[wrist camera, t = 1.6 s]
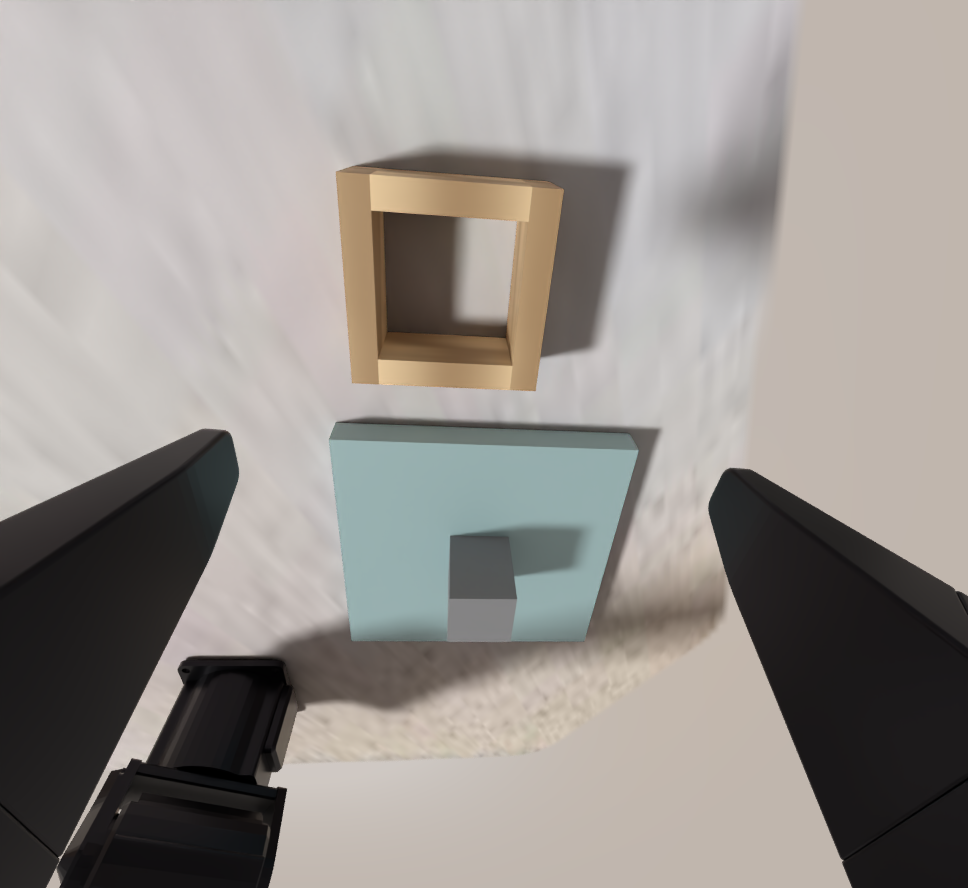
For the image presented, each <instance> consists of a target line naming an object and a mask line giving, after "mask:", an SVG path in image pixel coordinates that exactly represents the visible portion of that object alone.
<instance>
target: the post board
mask: <svg viewBox="0 0 968 888" xmlns="http://www.w3.org/2000/svg"><path fill="white" fill-rule="evenodd" d="M329 445H330V454H331V463H332V472H333V481H334V490H335V498H336V507H337V516H338V525H339V534H340V543H341V552H342V561H343V570H344V579H345V587H346V596H347V605H348V614H349V623H350V632H351V641H447V642H510V641H527V642H584V640H585V637H586V633H587V630H588V626H589V623H590V619H591V616H592V612H593V609H594V605H595V602H596V598H597V595H598V591H599V588H600V584H601V581H602V577H603V574H604V570H605V567H606V563H607V560H608V557H609V553H610V550H611V546H612V543H613V539H614V536H615V532H616V529H617V525H618V522H619V518H620V515H621V511H622V508H623V504H624V501H625V497H626V494H627V490H628V487H629V483H630V480H631V476H632V473H633V469H634V466H635V462H636V459H637V455H638V452H639V449H638V448H637V446H636V444H635V443H634V441H633V439H632V437H631V436H630V434H629V433H603V432H576V431H549V430H522V429H496V428H469V427H442V426H415V425H388V424H361V423H335V426H334V428H333V431H332V433H331V436H330V438H329Z"/></svg>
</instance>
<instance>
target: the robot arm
mask: <svg viewBox="0 0 968 888" xmlns="http://www.w3.org/2000/svg"><path fill="white" fill-rule="evenodd" d="M238 478H239V467H238V462H237V458H236V453H235V448H234V444H233V439H232V436H231V435H230V433H229V432H228V431H226V430H216V429H201V430H199V431H197V432H194V433H192V434H190V435H188V436H186V437H184V438H181V439H179V440H177V441H175V442H173V443H171V444H168V445H166V446H164V447H162V448H160V449H157V450H155V451H153V452H151V453H149V454H147V455H144V456H142V457H140V458H138V459H136V460H133V461H131V462H129V463H127V464H125V465H123V466H120V467H118V468H116V469H114V470H112V471H110V472H107V473H105V474H103V475H101V476H99V477H96V478H94V479H92V480H90V481H88V482H86V483H83V484H81V485H79V486H77V487H75V488H73V489H70V490H68V491H66V492H64V493H62V494H59V495H57V496H55V497H53V498H51V499H49V500H46V501H44V502H42V503H40V504H38V505H35V506H33V507H31V508H29V509H27V510H25V511H22V512H20V513H18V514H16V515H14V516H12V517H9V518H7V519H5V520H3V521H1V522H0V888H46V887H47V885H48V883H49V881H50V879H51V877H52V875H53V873H54V871H55V869H56V867H57V873H58V876H59V879H60V883H61V885H60V888H268V886H269V883H270V879H271V876H272V871H273V867H274V862H275V857H276V851H277V844H278V839H279V833H280V827H281V822H282V816H283V810H284V803H285V798H286V792H287V789H286V788H282V787H277V788H273V787H268V783H269V780H270V776H271V773H272V772H278V771H279V770H280V769H281V768H282V765H283V762H284V758H285V754H286V751H287V747H288V743H289V740H290V736H291V732H292V729H293V725H294V721H295V717H296V714H297V710H298V705H297V701H296V696H295V692H294V688H293V687H292V685H290V682H289V678H288V674H287V670H286V665H285V663H284V662H282V661H279V660H185V661H182V662H181V663H180V665H179V667H178V673H179V675H180V677H181V679H182V682H183V684H184V686H183V688H182V690H181V692H180V694H179V696H178V698H177V700H176V702H175V704H174V706H173V708H172V710H171V712H170V714H169V716H168V718H167V720H166V722H165V724H164V726H163V728H162V730H161V732H160V735H159V737H158V739H157V741H156V743H155V745H154V747H153V749H152V751H151V753H150V755H149V757H148V759H147V761H146V763H143V762H142V760H138V759H133V758H132V759H131V761H130V763H129V765H128V766H127V768H123V769H120V770H115V771H111V773H110V775H109V776H108V778H107V780H106V782H105V784H104V786H103V788H102V789H101V791H100V793H99V795H98V797H97V799H96V800H95V802H94V804H93V806H92V807H91V809H90V811H89V813H88V814H87V816H86V818H85V819H84V821H83V823H82V825H81V826H80V828H79V829H78V831H77V833H76V835H75V836H74V838H73V840H72V841H71V843H70V845H69V846H68V848H67V850H66V851H65V853H64V855H63V857H62V858H61V861H60V862H59V858H58V857H59V856H61V855H62V854H63V852H64V850H65V848H66V846H67V844H68V842H69V840H70V838H71V836H72V834H73V831H74V830H75V827H76V826H77V824H78V822H79V820H80V818H81V815H82V813H83V812H84V810H85V807H86V806H87V804H88V801H89V800H90V798H91V796H92V794H93V792H94V790H95V788H96V785H97V784H98V782H99V780H100V778H101V776H102V773H103V772H104V770H105V768H106V766H107V764H108V762H109V760H110V758H111V756H112V754H113V752H114V750H115V748H116V746H117V744H118V742H119V740H120V738H121V736H122V734H123V732H124V730H125V728H126V726H127V724H128V722H129V720H130V718H131V716H132V714H133V712H134V710H135V708H136V706H137V704H138V702H139V700H140V698H141V696H142V694H143V692H144V690H145V688H146V686H147V684H148V682H149V680H150V678H151V676H152V674H153V672H154V670H155V668H156V666H157V664H158V662H159V660H160V658H161V656H162V654H163V652H164V650H165V648H166V646H167V644H168V642H169V640H170V638H171V636H172V634H173V632H174V630H175V628H176V626H177V624H178V622H179V620H180V617H181V615H182V613H183V611H184V609H185V607H186V605H187V603H188V601H189V599H190V597H191V595H192V593H193V591H194V589H195V587H196V585H197V583H198V581H199V579H200V577H201V575H202V573H203V571H204V569H205V567H206V565H207V563H208V561H209V559H210V557H211V554H212V552H213V549H214V547H215V544H216V542H217V539H218V536H219V533H220V530H221V527H222V525H223V522H224V519H225V516H226V513H227V511H228V508H229V505H230V502H231V499H232V496H233V494H234V491H235V488H236V485H237V482H238ZM708 509H709V516H710V519H711V523H712V526H713V530H714V533H715V537H716V540H717V544H718V547H719V551H720V554H721V558H722V561H723V565H724V568H725V572H726V575H727V578H728V581H729V584H730V587H731V589H732V592H733V595H734V597H735V600H736V602H737V605H738V607H739V610H740V612H741V615H742V617H743V619H744V622H745V624H746V627H747V629H748V632H749V634H750V637H751V639H752V642H753V644H754V646H755V649H756V651H757V654H758V656H759V659H760V661H761V664H762V666H763V668H764V671H765V674H766V676H767V679H768V681H769V683H770V686H771V688H772V691H773V693H774V696H775V698H776V701H777V703H778V706H779V708H780V711H781V713H782V715H783V718H784V720H785V723H786V725H787V728H788V730H789V733H790V735H791V738H792V740H793V742H794V745H795V747H796V750H797V752H798V755H799V757H800V760H801V762H802V764H803V767H804V770H805V772H806V774H807V777H808V779H809V782H810V784H811V787H812V789H813V792H814V794H815V797H816V799H817V801H818V804H819V806H820V809H821V811H822V814H823V816H824V819H825V821H826V824H827V826H828V828H829V831H830V834H831V836H832V838H833V841H834V843H835V846H836V848H837V850H838V853H839V856H840V858H841V859H842V860H843V862H842V863H843V866H844V869H845V871H846V874H847V876H848V879H849V881H850V884H851V886H852V888H968V596H967V595H965V594H964V593H962V592H959V591H955V589H954V588H953V587H951V586H950V585H948V584H946V583H944V582H943V581H941V580H939V579H938V578H936V577H934V576H932V575H931V574H929V573H927V572H926V571H924V570H922V569H920V568H918V567H917V566H915V565H914V564H912V563H910V562H908V561H907V560H905V559H903V558H902V557H900V556H898V555H896V554H895V553H893V552H891V551H890V550H888V549H886V548H884V547H883V546H881V545H879V544H877V543H876V542H874V541H872V540H871V539H869V538H867V537H866V536H864V535H862V534H860V533H859V532H857V531H855V530H854V529H852V528H850V527H848V526H847V525H845V524H843V523H842V522H840V521H838V520H836V519H835V518H833V517H831V516H830V515H828V514H826V513H824V512H823V511H821V510H819V509H818V508H816V507H814V506H812V505H811V504H809V503H807V502H806V501H804V500H802V499H800V498H798V497H797V496H795V495H794V494H792V493H790V492H788V491H787V490H785V489H783V488H782V487H780V486H778V485H776V484H775V483H773V482H771V481H769V480H768V479H766V478H764V477H763V476H761V475H759V474H758V473H756V472H754V471H752V470H750V469H741V468H729V469H727V470H725V471H724V472H723V474H722V476H721V478H720V480H719V482H718V484H717V486H716V488H715V490H714V492H713V494H712V496H711V498H710V501H709V507H708ZM120 809H122V810H121V812H120V814H118V812H119V810H120ZM58 863H59V864H58ZM57 864H58V866H57Z"/></svg>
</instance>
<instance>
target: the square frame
mask: <svg viewBox="0 0 968 888" xmlns="http://www.w3.org/2000/svg"><path fill="white" fill-rule="evenodd" d="M336 181H337V194H338V207H339V220H340V233H341V246H342V259H343V272H344V285H345V297H346V310H347V323H348V336H349V349H350V362H351V375H352V383H361V384H384V385H407V386H430V387H453V388H476V389H499V390H522V391H536V383H537V376H538V369H539V362H540V355H541V348H542V341H543V334H544V327H545V320H546V313H547V306H548V299H549V292H550V285H551V278H552V271H553V264H554V257H555V250H556V243H557V236H558V229H559V222H560V215H561V208H562V200H563V193H564V189H562V188H560V187H558V186H556V185H554V184H553V183H551V182H549V181H536V180H524V179H511V178H498V177H486V176H473V175H460V174H448V173H435V172H422V171H410V170H397V169H384V168H372V167H359V166H352V167H349V168H346V169H343V170H340V171H337V172H336ZM383 211H384V212H398V213H412V214H426V215H440V216H454V217H468V218H482V219H496V220H509V221H517V229H516V239H515V249H514V259H513V269H512V279H511V289H510V299H509V309H508V319H507V329H506V338H498V337H479V336H460V335H441V334H422V333H403V332H387V308H386V278H385V248H384V218H383Z"/></svg>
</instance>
